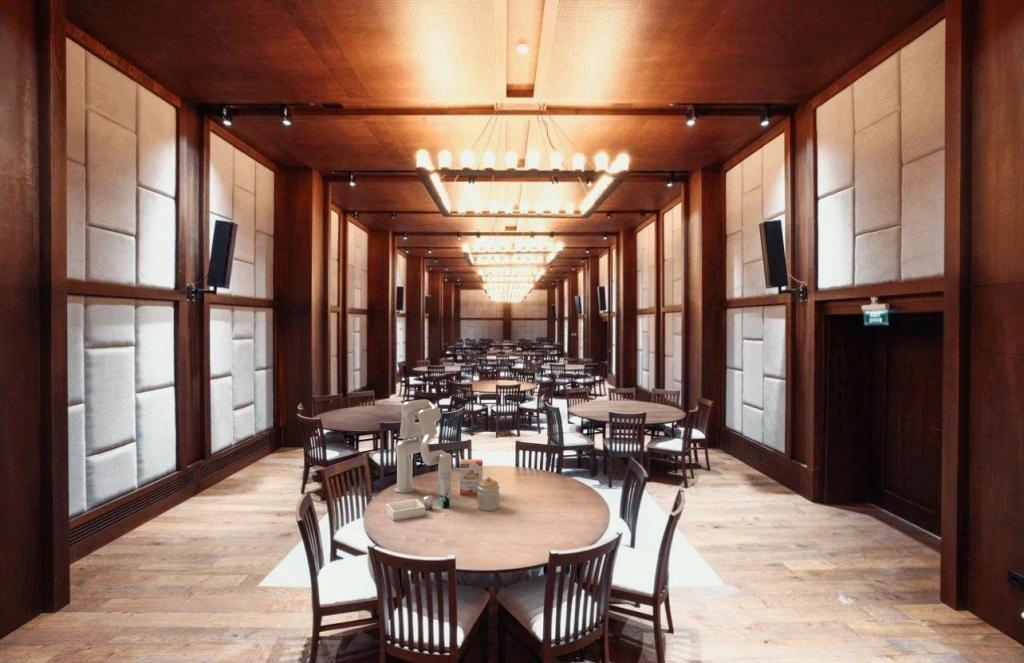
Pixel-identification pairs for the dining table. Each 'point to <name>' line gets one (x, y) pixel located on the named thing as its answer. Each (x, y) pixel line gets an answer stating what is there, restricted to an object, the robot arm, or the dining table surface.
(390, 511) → the tote
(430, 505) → the steel cylinder
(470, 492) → the cracker box
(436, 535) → the dining table surface
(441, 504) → the teal cube
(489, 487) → the jar
